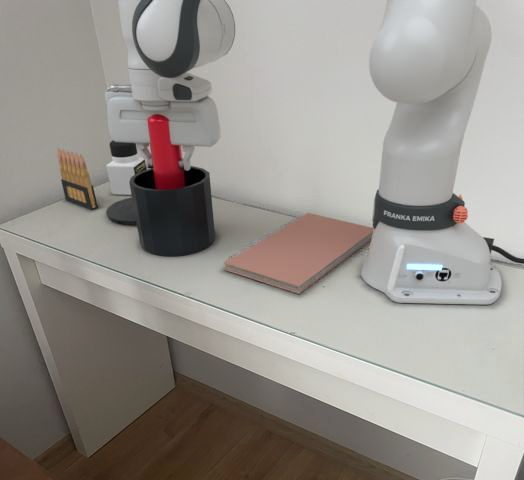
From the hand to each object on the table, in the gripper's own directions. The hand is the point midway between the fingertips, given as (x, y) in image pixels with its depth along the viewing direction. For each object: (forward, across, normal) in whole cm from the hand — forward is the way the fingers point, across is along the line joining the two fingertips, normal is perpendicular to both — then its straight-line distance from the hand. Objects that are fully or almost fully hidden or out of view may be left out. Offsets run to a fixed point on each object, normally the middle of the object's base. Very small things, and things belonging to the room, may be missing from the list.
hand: (168, 168), depth 96 cm
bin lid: (+14, -14, +12) cm, 23 cm away
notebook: (+14, +25, 0) cm, 29 cm away
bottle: (+9, 0, 0) cm, 9 cm away
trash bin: (+14, 0, 0) cm, 14 cm away
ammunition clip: (+14, -31, +14) cm, 37 cm away
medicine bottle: (+14, -24, +25) cm, 37 cm away
